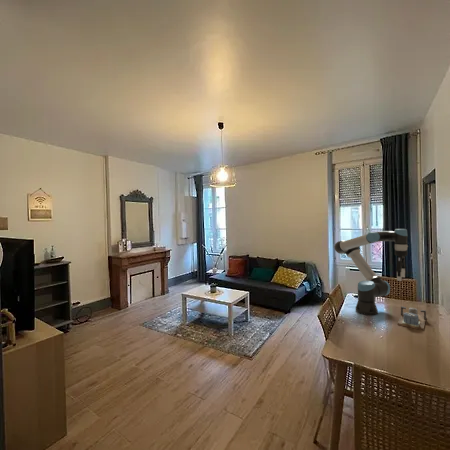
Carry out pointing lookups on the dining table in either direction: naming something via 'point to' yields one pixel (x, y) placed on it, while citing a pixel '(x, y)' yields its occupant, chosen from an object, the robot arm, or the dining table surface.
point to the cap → (411, 318)
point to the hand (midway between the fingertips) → (401, 279)
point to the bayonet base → (421, 318)
